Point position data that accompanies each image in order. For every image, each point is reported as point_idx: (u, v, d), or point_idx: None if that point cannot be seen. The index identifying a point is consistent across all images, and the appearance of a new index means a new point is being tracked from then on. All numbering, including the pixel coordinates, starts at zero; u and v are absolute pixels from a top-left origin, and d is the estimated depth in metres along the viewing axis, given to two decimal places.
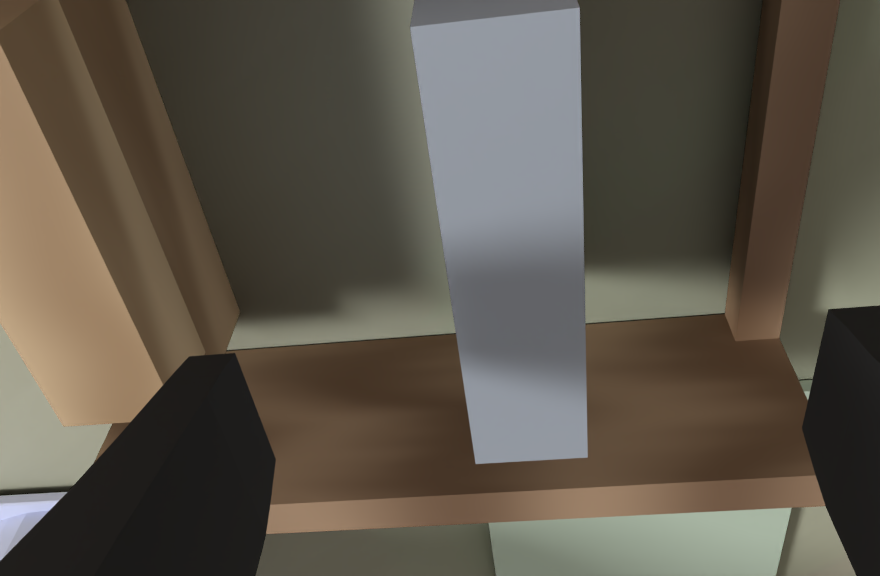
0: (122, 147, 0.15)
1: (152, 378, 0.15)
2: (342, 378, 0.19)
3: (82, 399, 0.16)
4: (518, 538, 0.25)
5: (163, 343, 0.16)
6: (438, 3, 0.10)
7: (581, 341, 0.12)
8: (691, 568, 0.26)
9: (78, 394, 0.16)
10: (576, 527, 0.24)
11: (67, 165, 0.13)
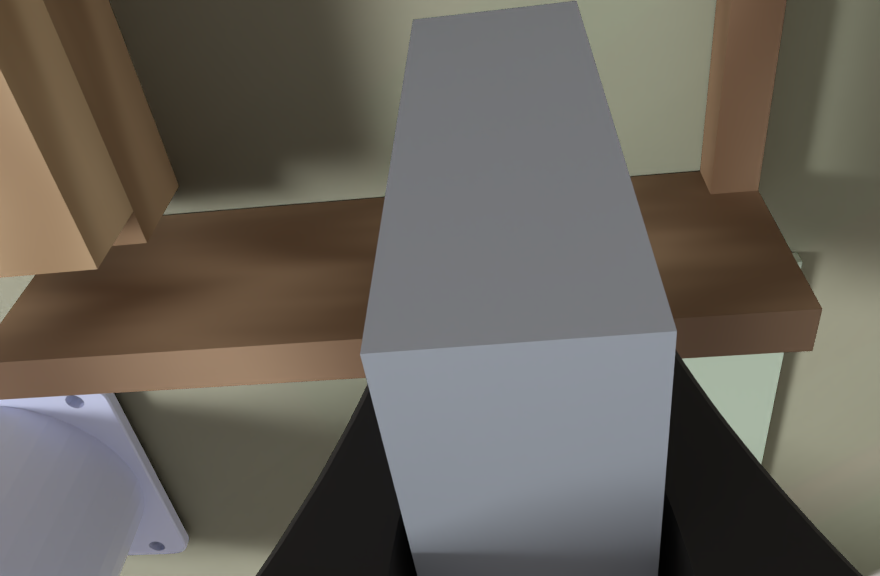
0: None
1: (64, 218, 0.14)
2: (283, 236, 0.18)
3: None
4: None
5: (77, 182, 0.14)
6: (414, 280, 0.06)
7: None
8: None
9: None
10: None
11: None
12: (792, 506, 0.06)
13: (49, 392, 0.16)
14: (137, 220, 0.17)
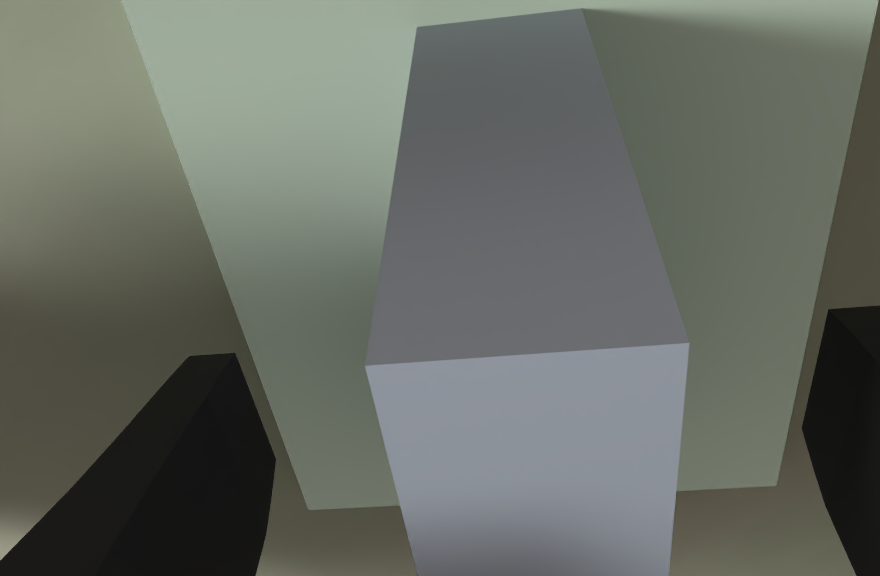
0: None
1: None
2: None
3: None
4: (287, 304, 0.13)
5: None
6: (420, 289, 0.06)
7: None
8: None
9: None
10: None
11: None
12: None
13: None
14: None
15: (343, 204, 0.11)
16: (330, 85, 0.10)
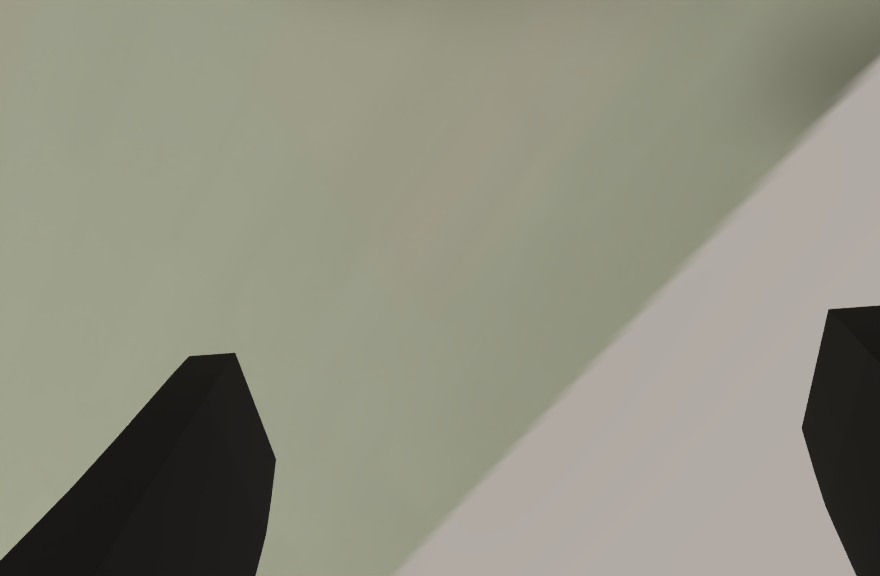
0: None
1: None
2: None
3: None
4: None
5: None
6: None
7: None
8: None
9: None
10: None
11: None
12: None
13: None
14: None
15: None
16: None
